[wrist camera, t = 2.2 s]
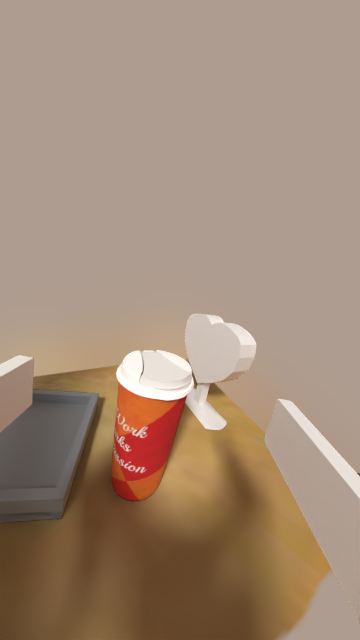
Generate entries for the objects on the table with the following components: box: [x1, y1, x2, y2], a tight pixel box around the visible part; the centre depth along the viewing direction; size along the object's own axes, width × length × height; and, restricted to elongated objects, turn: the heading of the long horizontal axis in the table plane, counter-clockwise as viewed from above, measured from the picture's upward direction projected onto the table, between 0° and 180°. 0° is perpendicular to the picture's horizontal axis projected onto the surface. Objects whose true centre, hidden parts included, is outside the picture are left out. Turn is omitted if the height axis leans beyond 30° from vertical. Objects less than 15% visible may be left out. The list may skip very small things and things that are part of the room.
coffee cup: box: [112, 350, 194, 501], centre depth 23 cm, size 8×8×15 cm
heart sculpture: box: [185, 314, 256, 430], centre depth 38 cm, size 16×5×18 cm, turn 29°
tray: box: [0, 389, 99, 523], centre depth 24 cm, size 16×16×2 cm
